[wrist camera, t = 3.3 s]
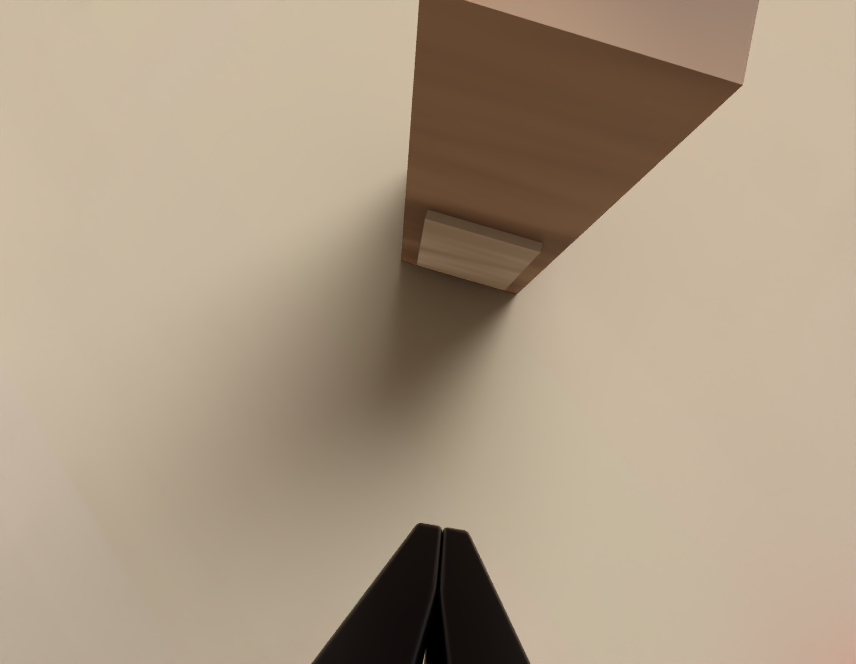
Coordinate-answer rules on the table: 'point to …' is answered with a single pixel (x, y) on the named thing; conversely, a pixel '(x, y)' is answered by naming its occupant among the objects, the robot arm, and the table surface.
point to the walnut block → (551, 119)
